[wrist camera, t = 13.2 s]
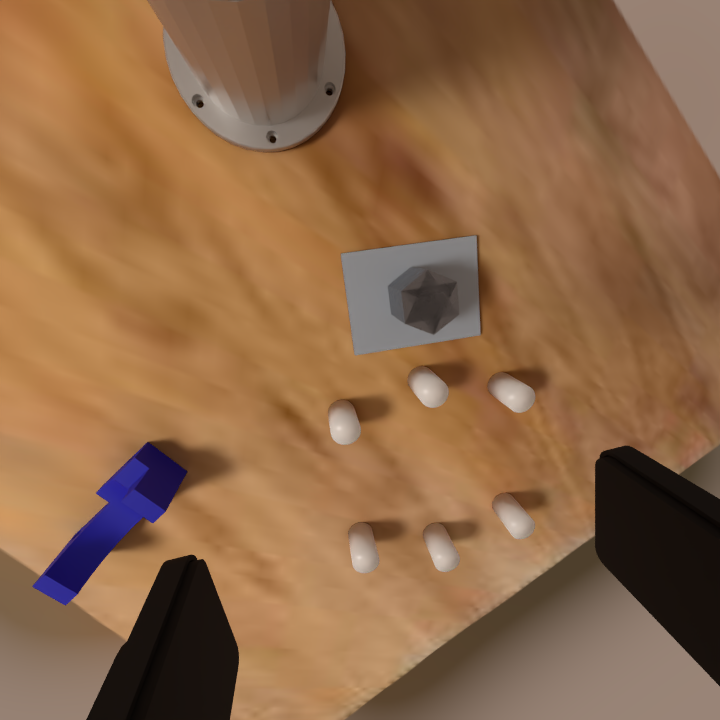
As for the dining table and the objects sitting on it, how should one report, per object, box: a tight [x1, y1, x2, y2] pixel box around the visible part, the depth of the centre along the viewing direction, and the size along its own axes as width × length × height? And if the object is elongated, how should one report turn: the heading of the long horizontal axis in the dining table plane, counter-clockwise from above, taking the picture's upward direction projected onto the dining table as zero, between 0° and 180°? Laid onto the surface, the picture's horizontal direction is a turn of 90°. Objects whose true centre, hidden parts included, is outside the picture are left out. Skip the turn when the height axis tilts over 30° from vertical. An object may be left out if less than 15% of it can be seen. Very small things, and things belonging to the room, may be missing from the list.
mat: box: [341, 235, 480, 355], centre depth 34 cm, size 9×12×1 cm
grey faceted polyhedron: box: [388, 267, 459, 335], centre depth 32 cm, size 5×4×5 cm
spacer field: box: [328, 366, 535, 573], centre depth 37 cm, size 21×19×4 cm
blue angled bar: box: [33, 442, 187, 605], centre depth 33 cm, size 12×4×6 cm, turn 133°
